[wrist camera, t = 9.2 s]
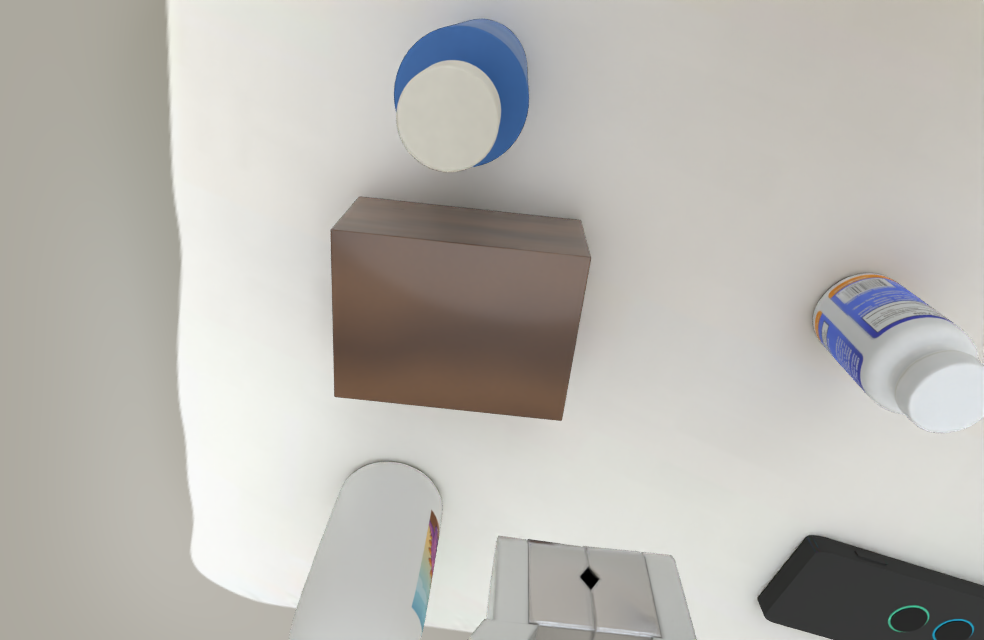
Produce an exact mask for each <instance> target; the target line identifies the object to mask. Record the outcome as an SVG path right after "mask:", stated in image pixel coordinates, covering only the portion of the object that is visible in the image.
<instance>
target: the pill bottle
mask: <svg viewBox="0 0 984 640" xmlns="http://www.w3.org/2000/svg"><path fill="white" fill-rule="evenodd" d="M813 327H814V331H815V334H816V336H817V338H818V339H819V341H820V342H821V343H822V345H823V346H824V347H825V348H826V349H827V350H828V351H829V353H830V354H831V355H832V356H833V357H834V358H835V359H836V360H837V362H838V363H839V364H840V365H841V366H842V367H843V368H844V369H845V370H846V372H847V373H848V374H849V375H850V376H851V377H852V378H853V379H854V380H855V382H856V383H857V384H858V385H859V386H860V387H861V388H862V389H863V391H864V392H865V393H866V394H867V395H868V396H869V397H870V398H871V399H872V400H873V401H874V402H875V403H877V404H878V405H879V406H881V407H882V408H884V409H886V410H888V411H891V412H894V413H898V414H905V415H906V416H907V417H908V418H909V419H910V420H911V421H912V422H913V423H914V424H915V425H917V426H918V427H920V428H921V429H923V430H926V431H929V432H933V433H950V432H955V431H959V430H962V429H965V428H967V427H969V426H971V425H973V424H975V423H977V422H978V421H980V420H981V419H982V418H983V417H984V365H983V364H982V363H981V362H980V361H979V358H978V351H977V348H976V346H975V344H974V342H973V341H972V339H971V338H970V337H969V336H968V335H967V334H966V333H965V332H964V331H963V330H962V329H961V328H959V327H958V326H957V325H955V324H954V323H953V322H951V321H950V320H949V319H947V318H946V317H944V316H943V315H942V314H940V313H939V312H937V311H936V310H935V309H933V308H932V307H930V306H929V305H928V304H926V303H925V302H924V301H922V300H921V299H919V298H918V297H917V296H915V295H914V294H913V293H911V292H910V291H908V290H907V289H906V288H904V287H903V286H901V285H900V284H899V283H897V282H896V281H894V280H892V279H890V278H888V277H886V276H883V275H879V274H873V273H864V274H857V275H854V276H850V277H848V278H845V279H843V280H842V281H840V282H838V283H837V284H835V285H834V286H832V287H831V288H830V289H829V290H828V291H827V292H826V293H825V294H824V295H823V296H822V298H821V299H820V300H819V302H818V304H817V306H816V308H815V311H814V315H813Z"/></svg>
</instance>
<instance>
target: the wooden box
mask: <svg viewBox="0 0 984 640" xmlns="http://www.w3.org/2000/svg"><path fill="white" fill-rule="evenodd" d="M590 261H591V255H590V252H589V248H588V244H587V241H586V237H585V233H584V229H583V226H582V222H581V220H574V219H564V218H555V217H546V216H536V215H527V214H518V213H508V212H499V211H489V210H480V209H471V208H461V207H452V206H443V205H433V204H424V203H414V202H405V201H396V200H386V199H377V198H367V197H358V199H357V200H356V201H355V202H354V203H353V204H352V205H351V207H350V208H349V209H348V210H347V211H346V212H345V214H344V215H343V216H342V217H341V218H340V219H339V221H338V222H337V223H336V224H335V225H334V226H333V228H332V229H331V268H332V312H333V355H334V396H335V397H341V398H350V399H360V400H369V401H379V402H388V403H398V404H407V405H417V406H426V407H436V408H445V409H454V410H464V411H473V412H483V413H492V414H502V415H511V416H521V417H530V418H540V419H549V420H559V421H562V417H563V411H564V406H565V400H566V395H567V389H568V384H569V378H570V372H571V367H572V361H573V356H574V350H575V345H576V339H577V334H578V328H579V322H580V317H581V311H582V306H583V300H584V295H585V289H586V283H587V278H588V272H589V267H590Z"/></svg>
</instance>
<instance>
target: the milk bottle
mask: <svg viewBox="0 0 984 640" xmlns="http://www.w3.org/2000/svg"><path fill="white" fill-rule="evenodd" d="M442 510H443V505H442V500H441V496H440V494H439V492H438V490H437V488H436V486H435V485H434V483H433V482H432V481H431V479H429V478H428V477H427V476H426V475H425V474H424V473H422V472H420V471H419V470H417V469H416V468H413V467H411V466H408V465H405V464H401V463H397V462H377V463H373V464H368V465H366V466H364V467H362V468H360V469H358V470H357V471H356V472H354V473H353V474H352V475H350V476H349V477H348V478H347V480H346V481H345V482H344V484H343V486H342V488H341V490H340V493H339V495H338V497H337V500H336V503H335V505H334V508H333V510H332V513H331V516H330V518H329V521H328V523H327V526H326V529H325V531H324V534H323V537H322V539H321V542H320V545H319V547H318V550H317V553H316V555H315V558H314V561H313V563H312V566H311V569H310V572H309V574H308V577H307V580H306V582H305V585H304V588H303V591H302V594H301V597H300V600H299V603H298V606H297V609H296V612H295V615H294V618H293V622H292V627H291V631H290V635H289V640H421V637H422V632H423V627H424V622H425V617H426V611H427V605H428V599H429V593H430V588H431V582H432V576H433V570H434V563H435V557H436V551H437V545H438V539H439V532H440V526H441V519H442Z"/></svg>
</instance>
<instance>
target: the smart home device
mask: <svg viewBox="0 0 984 640" xmlns="http://www.w3.org/2000/svg"><path fill="white" fill-rule="evenodd" d="M758 601H759V604H760V607H761V609H762V612H763V614H764V617H765V618H766V619H767V620H769V621H771V622H774V623H777V624H780V625H784V626H787V627H791V628H794V629H798V630H801V631H805V632H808V633H812V634H815V635H819V636H822V637H826V638H829V639H833V640H984V586H982V585H978V584H975V583H972V582H969V581H965V580H962V579H959V578H955V577H952V576H949V575H946V574H942V573H939V572H936V571H932V570H929V569H926V568H923V567H919V566H916V565H913V564H910V563H906V562H903V561H900V560H896V559H893V558H890V557H887V556H883V555H880V554H877V553H873V552H870V551H867V550H864V549H860V548H857V547H854V546H850V545H847V544H844V543H841V542H837V541H834V540H831V539H828V538H824V537H820V536H808V537H807V538H806V539H805V540H804V541H803V542H802V544H801V545H800V546H799V547H798V549H797V550H796V551H795V552H794V554H793V555H792V556H791V557H790V559H789V560H788V561H787V562H786V564H785V565H784V566H783V567H782V569H781V570H780V571H779V572H778V574H777V575H776V576H775V577H774V579H773V580H772V581H771V582H770V584H769V585H768V586H767V588H766V589H765V590H764V591H763V593H762V594H761V595H760V596H759V598H758Z"/></svg>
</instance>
